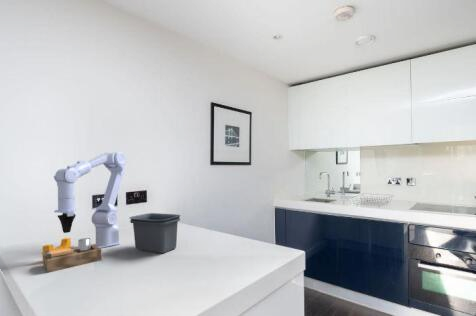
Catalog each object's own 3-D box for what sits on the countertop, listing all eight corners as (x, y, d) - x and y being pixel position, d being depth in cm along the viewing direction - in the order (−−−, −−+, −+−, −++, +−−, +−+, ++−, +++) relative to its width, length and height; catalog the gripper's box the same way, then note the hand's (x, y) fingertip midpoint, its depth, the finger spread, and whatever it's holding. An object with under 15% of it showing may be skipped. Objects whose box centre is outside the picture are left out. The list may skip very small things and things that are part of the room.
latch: (46, 258, 93) (46, 254, 93) (45, 255, 95) (45, 252, 96) (73, 253, 98) (73, 249, 98) (71, 250, 101) (71, 247, 101)
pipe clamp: (60, 253, 112) (60, 238, 113) (70, 253, 112) (70, 237, 112) (38, 263, 100) (38, 246, 101) (49, 263, 100) (49, 246, 100)
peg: (89, 257, 105) (89, 237, 105) (91, 260, 102) (91, 239, 102) (77, 260, 102) (77, 239, 103) (79, 262, 99) (79, 241, 100)
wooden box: (94, 254, 109) (94, 240, 109) (101, 259, 102) (101, 245, 102) (43, 265, 97) (43, 250, 98) (47, 272, 90) (47, 256, 90)
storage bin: (125, 250, 113) (125, 217, 114) (153, 241, 127) (152, 211, 127) (162, 257, 103) (161, 220, 104) (187, 246, 117) (187, 213, 117)
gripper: (51, 198, 108) (51, 231, 108) (58, 200, 98) (58, 237, 97) (71, 196, 113) (71, 228, 112) (79, 198, 102) (80, 233, 102)
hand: (66, 232), depth 105 cm, fingers closed
